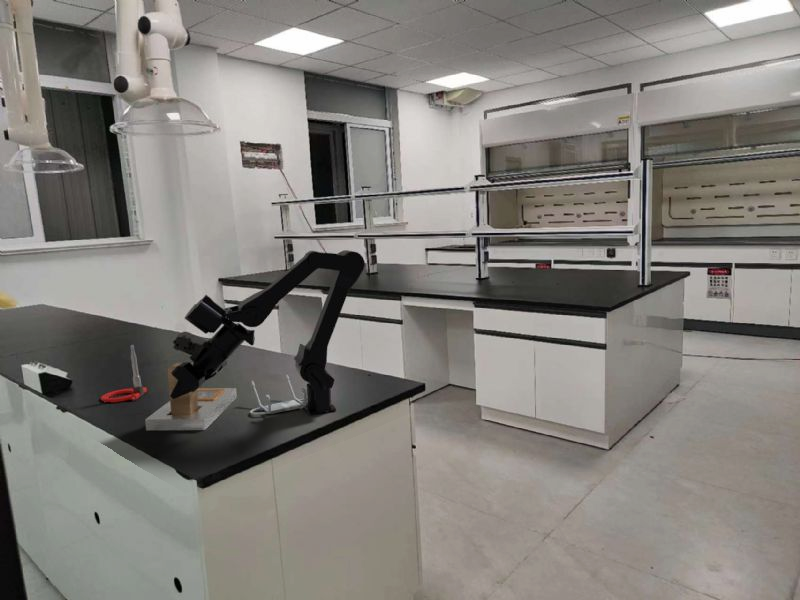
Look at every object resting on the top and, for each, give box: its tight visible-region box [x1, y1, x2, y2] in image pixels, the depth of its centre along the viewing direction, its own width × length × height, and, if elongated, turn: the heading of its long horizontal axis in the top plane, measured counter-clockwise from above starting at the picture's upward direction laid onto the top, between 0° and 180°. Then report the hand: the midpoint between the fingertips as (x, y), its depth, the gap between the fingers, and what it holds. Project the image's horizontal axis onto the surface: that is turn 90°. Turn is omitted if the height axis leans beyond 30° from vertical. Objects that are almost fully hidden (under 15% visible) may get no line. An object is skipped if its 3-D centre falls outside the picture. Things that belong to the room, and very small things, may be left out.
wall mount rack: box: [249, 374, 308, 416], centre depth 134 cm, size 16×14×6 cm
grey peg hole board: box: [144, 387, 238, 431], centre depth 131 cm, size 22×13×3 cm, turn 179°
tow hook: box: [100, 344, 148, 403], centre depth 143 cm, size 9×14×10 cm
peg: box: [167, 362, 198, 415], centre depth 125 cm, size 4×4×13 cm
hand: (177, 393), depth 125 cm, fingers open, 6 cm apart
